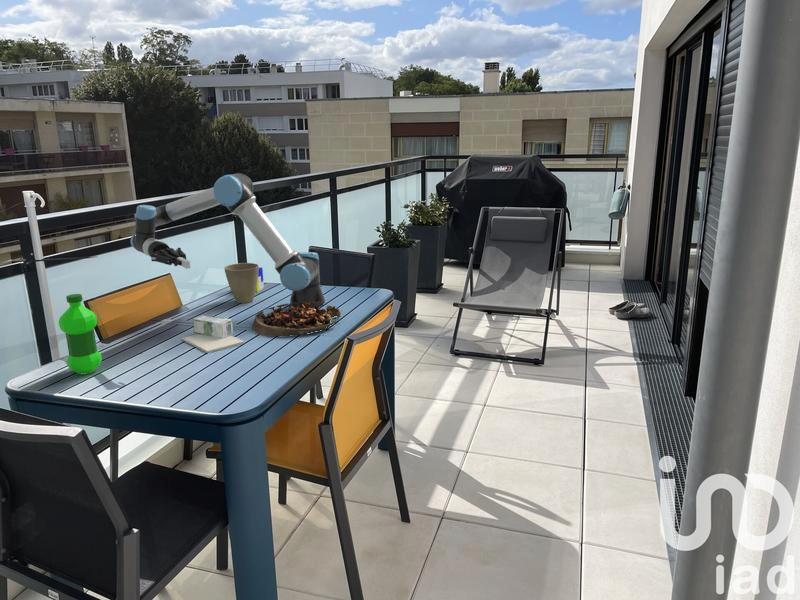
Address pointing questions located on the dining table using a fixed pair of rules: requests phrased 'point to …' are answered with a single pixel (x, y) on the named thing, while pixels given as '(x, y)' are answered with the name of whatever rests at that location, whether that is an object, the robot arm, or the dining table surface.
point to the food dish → (294, 320)
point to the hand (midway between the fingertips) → (188, 264)
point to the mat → (212, 342)
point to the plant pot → (242, 280)
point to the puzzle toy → (260, 280)
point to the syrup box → (213, 326)
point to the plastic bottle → (80, 336)
